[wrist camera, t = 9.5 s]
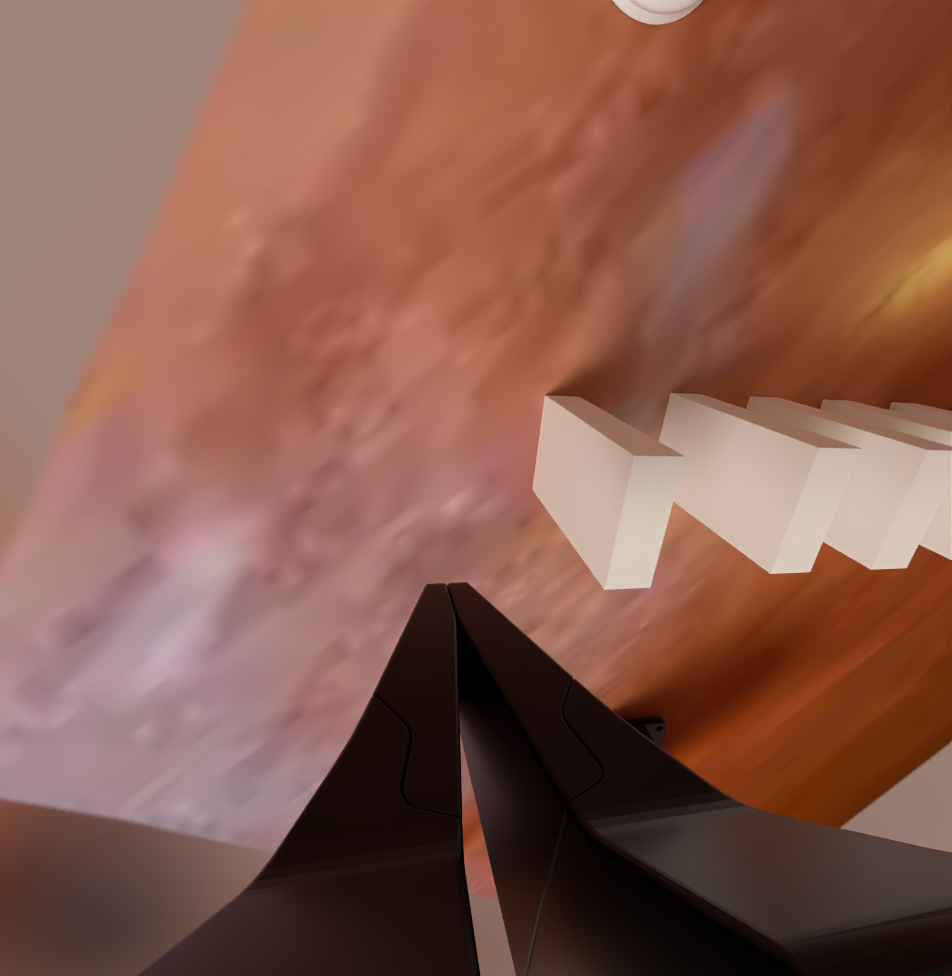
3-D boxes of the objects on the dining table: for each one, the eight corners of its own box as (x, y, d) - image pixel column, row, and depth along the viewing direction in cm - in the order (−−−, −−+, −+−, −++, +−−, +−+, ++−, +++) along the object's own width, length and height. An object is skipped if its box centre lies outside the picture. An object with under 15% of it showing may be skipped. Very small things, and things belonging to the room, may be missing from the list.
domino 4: (816, 483, 25) (994, 563, 17) (791, 483, 24) (962, 565, 17) (849, 400, 23) (1062, 452, 16) (823, 399, 23) (1027, 451, 15)
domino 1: (564, 489, 22) (650, 587, 15) (532, 489, 22) (604, 589, 15) (579, 396, 20) (685, 456, 13) (545, 395, 20) (634, 455, 13)
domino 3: (749, 483, 24) (906, 568, 17) (722, 483, 24) (870, 569, 16) (778, 397, 22) (967, 450, 15) (749, 396, 22) (928, 450, 15)
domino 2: (677, 483, 23) (810, 572, 16) (648, 483, 23) (770, 573, 16) (701, 394, 21) (862, 448, 14) (670, 392, 21) (818, 447, 14)
